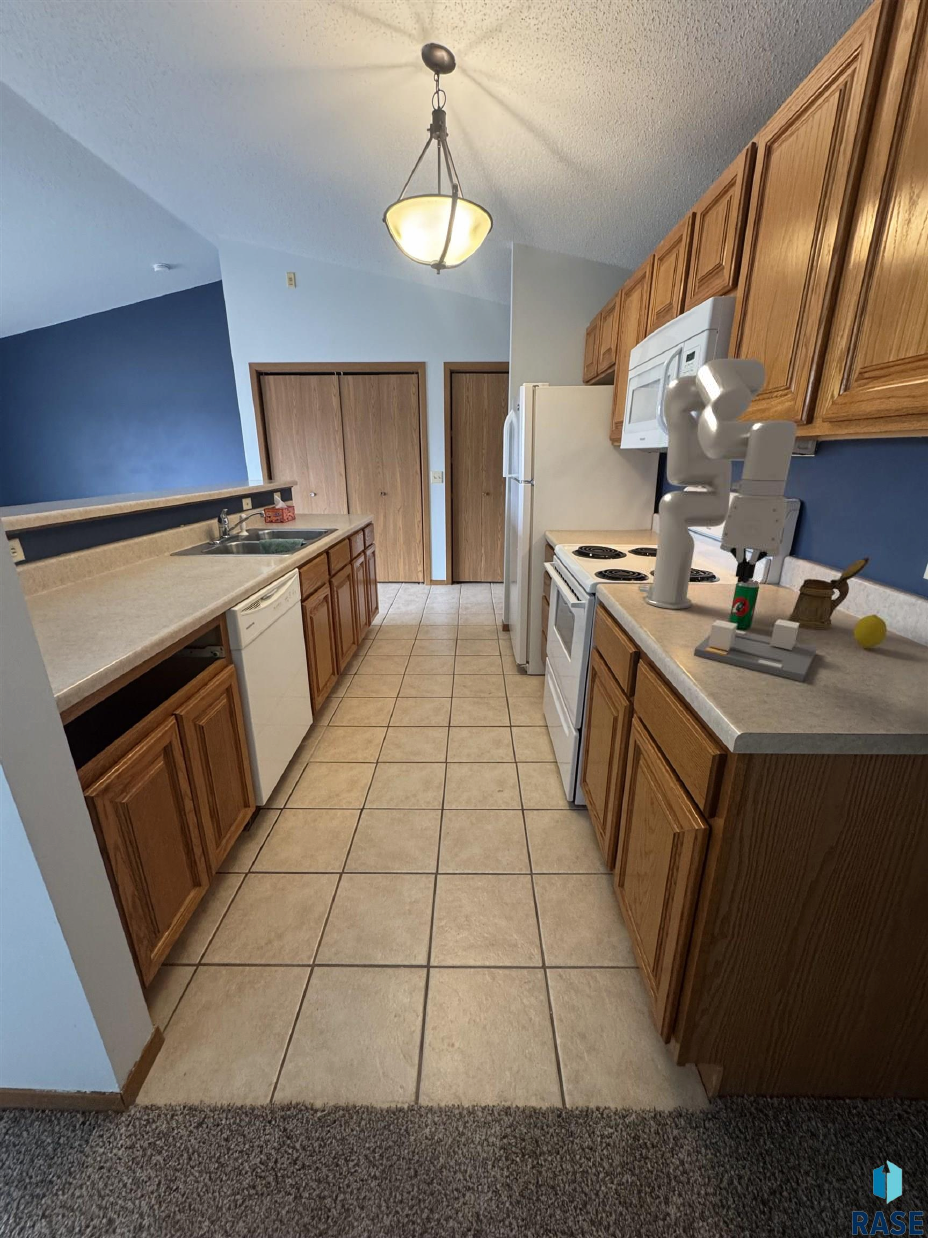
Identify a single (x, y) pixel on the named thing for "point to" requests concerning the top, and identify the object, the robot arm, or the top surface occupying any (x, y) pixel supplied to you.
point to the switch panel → (762, 655)
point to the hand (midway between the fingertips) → (743, 581)
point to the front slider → (722, 635)
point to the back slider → (784, 634)
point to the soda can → (744, 604)
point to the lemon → (870, 631)
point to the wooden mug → (823, 598)
